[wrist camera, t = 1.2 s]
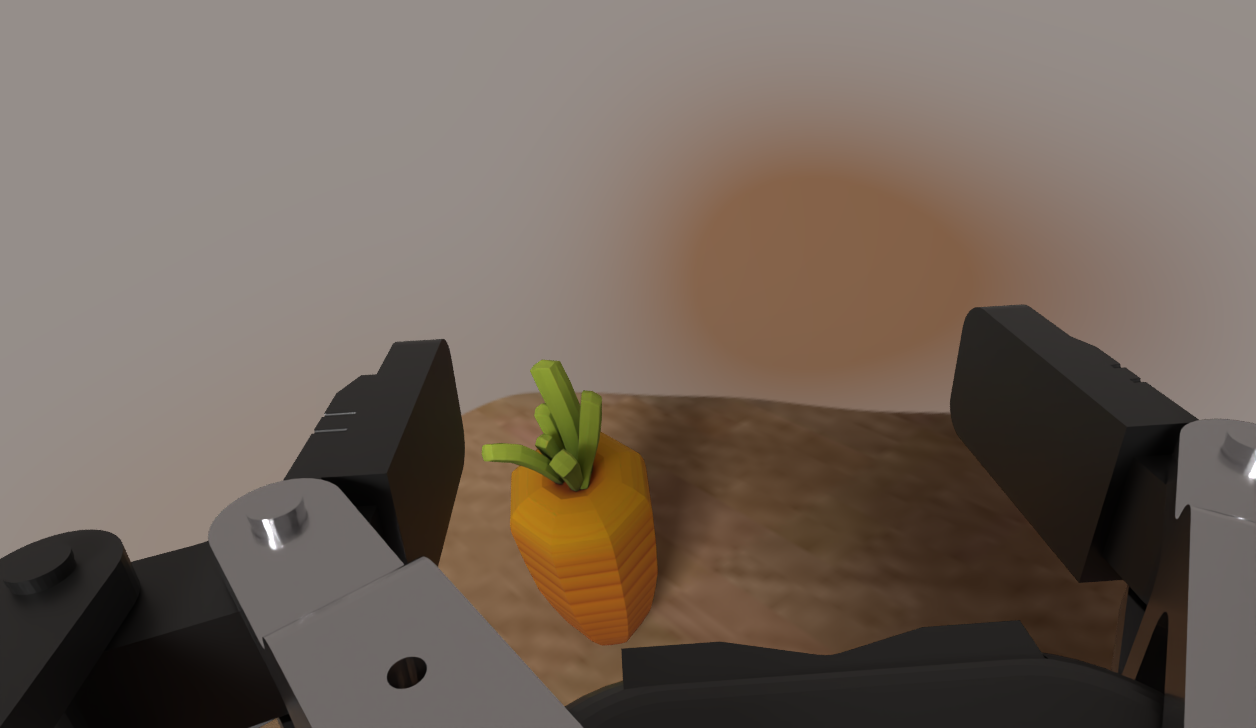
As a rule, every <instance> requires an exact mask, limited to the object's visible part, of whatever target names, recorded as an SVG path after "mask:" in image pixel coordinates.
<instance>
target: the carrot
mask: <svg viewBox="0 0 1256 728" xmlns="http://www.w3.org/2000/svg"><path fill="white" fill-rule="evenodd" d="M530 372H531V374H532V376H533V378H534V380H535V382H536V384H537V387H538V389H539V391H540V393H541V395H542V397H543V399H544V401H545V403H544V404H541V405H539V406H538V407H537V408H536V409H535V415H534V416H535V418H536V420H537V422H538V424H539V426H540V428H541V430H542V431H543V433H544V434H542V435H540V436H539V437H538V438H537V440H536V444H535V446H536V447H537V448H538V449H537V450H536V451H534V450H532V449H530V448H527V447H525V446H523V445H518V444H505V443H497V444H487V445H484V446H482V456H483V459H484V461H491V462H507V463H514V464H517V465H520V466H519V467H517V468H516V469H515V470H514V471H513V472H512V477H511V515H510V527H511V532H512V535H513V537H514V539H515V541H516V544H517V546H518V548H519V550H520V553H521V555H522V557H523V559H524V561H525V564H526V566H527V567H528V569H529V571H530V573H531V575H532V577H533V579H534V581H535V583H536V585H537V587H538V589H539V590H540V592H541V593H542V594H543V595H544V596H545V598H546V599H547V600H548V601H549V603H550V604H551V605H552V606H553V607H554V608H555V609H556V610H557V612H558V613H559V614H560V615H561V616H562V617H563V618H564V619H565V620H566V621H567V622H568V623H570V624H571V625H572V626H574V627H575V628H576V629H577V630H579V631H580V632H581V633H583V634H584V635H585V636H586V637H588V638H589V639H590V640H592V641H593V642H595V643H597V644H600V645H613V644H620V643H625V642H627V641H628V639H629V638H630V637H631V636H632V634H633V633H634V632H635V631H636V630H637V628H638V627H639V626H640V625H641V623H642V622H643V620H644V619H645V617H646V616H647V614H648V613H649V611H650V609H651V605H652V601H653V597H654V593H655V587H656V581H657V574H658V568H657V551H656V539H655V530H654V521H653V513H652V506H651V499H650V492H649V485H648V478H647V471H646V465H645V462H644V459H643V458H642V457H641V455H640V454H639V453H637V452H635V451H634V450H632V449H630V448H628V447H627V446H625V445H623V444H621V443H620V442H618V441H616V440H614V439H613V438H611V437H609V436H607V435H606V434H604V433H602V432H600V430H601V421H602V398H601V396H600V395H598V394H596V393H595V392H593V391H585V390H584V391H583V392H582V396H581V406H580V404H579V402H578V399H577V397H576V394H575V392H574V389H573V387H572V384H571V382H570V380H569V378H568V376H567V374H566V372H565V370H564V368H563V366H562V364H561V362H560V361H552V360H541V361H539V362H538V363H537V364H535V365H534V366H533V367H532V369H531V370H530Z"/></svg>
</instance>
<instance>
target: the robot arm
mask: <svg viewBox="0 0 1256 728" xmlns="http://www.w3.org/2000/svg"><path fill="white" fill-rule="evenodd" d="M950 412H951V418H952V422H953V426H954V429H955V431H956V433H957V435H958V436H959V438H960V439H961V440H962V441H963V443H964V444H965V445H966V446H967V447H968V449H969V450H970V451H971V452H972V453H973V455H974V456H975V457H976V458H977V460H978V461H979V462H980V463H981V464H982V466H983V467H984V468H985V469H986V470H987V472H988V473H989V474H990V475H991V477H992V478H993V479H994V480H995V481H996V483H997V484H998V485H999V486H1000V487H1001V489H1002V490H1003V491H1004V492H1005V494H1006V495H1007V496H1008V497H1009V498H1010V500H1011V501H1012V502H1013V503H1014V504H1015V506H1016V507H1017V508H1018V509H1019V511H1020V512H1021V513H1022V514H1023V515H1024V517H1025V518H1026V519H1027V520H1028V521H1029V523H1030V524H1031V525H1032V526H1033V528H1034V529H1035V530H1036V531H1037V532H1038V534H1039V535H1040V536H1041V537H1042V538H1043V540H1044V541H1045V542H1046V543H1047V545H1048V546H1049V547H1050V548H1051V549H1052V551H1053V552H1054V553H1055V554H1056V555H1057V557H1058V558H1059V559H1060V560H1061V562H1062V563H1063V564H1064V565H1065V566H1066V568H1067V569H1068V570H1069V571H1070V572H1071V574H1072V575H1073V576H1074V577H1075V579H1076V580H1077V581H1078V582H1079V583H1083V582H1098V581H1112V580H1124V581H1125V582H1126V583H1127V584H1128V585H1127V588H1126V590H1125V593H1124V596H1123V599H1122V602H1121V605H1120V609H1119V616H1118V623H1117V631H1116V638H1115V645H1114V653H1113V660H1112V667H1111V670H1108V669H1106V668H1103V667H1099V666H1096V665H1093V664H1090V663H1086V662H1083V661H1080V660H1076V659H1072V658H1067V657H1063V656H1058V655H1054V654H1048V653H1041V651H1040V650H1039V648H1038V647H1037V645H1036V644H1035V642H1034V641H1033V639H1032V638H1031V636H1030V635H1029V633H1028V632H1027V631H1026V629H1025V628H1024V626H1023V625H1022V623H1021V622H1020V620H1017V621H1003V622H989V623H975V624H961V625H947V626H933V627H922V628H919V629H916V630H912V631H909V632H906V633H903V634H900V635H896V636H893V637H890V638H887V639H884V640H880V641H877V642H874V643H871V644H868V645H865V646H861V647H858V648H855V649H852V650H849V651H845V652H842V653H839V654H834V655H815V654H808V653H800V652H793V651H785V650H778V649H771V648H763V647H756V646H748V645H741V644H733V643H726V642H709V643H695V644H681V645H667V646H653V647H639V648H625V649H621V650H622V669H623V681H620V682H617V683H614V684H611V685H608V686H605V687H603V688H600V689H598V690H596V691H594V692H591V693H589V694H587V695H584V696H582V697H580V698H579V699H577V700H575V701H573V702H572V703H570V704H568V705H567V706H565V707H564V706H563V705H562V704H561V702H560V701H559V700H558V699H557V698H556V697H555V696H554V695H553V694H552V693H551V691H550V690H549V689H548V688H547V687H546V686H545V685H544V684H543V683H542V682H541V680H540V679H539V678H538V677H537V676H536V675H535V674H534V673H533V672H532V670H531V669H530V668H529V667H528V666H527V665H526V664H525V663H524V662H523V661H522V659H521V658H520V657H519V656H518V655H517V654H516V653H515V652H514V651H513V650H512V648H511V647H510V646H509V645H508V644H507V643H506V642H505V641H504V640H503V639H502V637H501V636H500V635H499V634H498V633H497V632H496V631H495V630H494V629H493V628H492V626H491V625H490V624H489V623H488V622H487V621H486V620H485V619H484V618H483V617H482V615H481V614H480V613H479V612H478V611H477V610H476V609H475V608H474V607H473V605H472V604H471V603H470V602H469V601H468V600H467V599H466V598H465V597H464V596H463V594H462V593H461V592H460V591H459V590H458V589H457V588H456V587H455V586H454V585H453V583H452V582H451V581H450V580H449V579H448V578H447V577H446V576H445V575H444V574H443V572H442V571H441V570H440V569H439V568H438V564H439V560H440V556H441V553H442V549H443V545H444V541H445V537H446V533H447V529H448V525H449V521H450V517H451V513H452V509H453V506H454V502H455V498H456V494H457V490H458V486H459V482H460V478H461V474H462V470H463V466H464V456H465V441H464V430H463V423H462V417H461V412H460V407H459V400H458V394H457V388H456V383H455V377H454V371H453V365H452V359H451V354H450V350H449V346H448V344H447V342H446V340H445V339H436V340H422V341H421V340H420V341H404V342H395V343H394V344H393V345H392V347H391V349H390V351H389V352H388V355H387V356H386V358H385V360H384V362H383V364H382V365H381V367H380V369H379V371H378V373H377V374H376V375H361V376H360V377H358V378H357V379H355V380H354V381H353V382H351V383H350V384H349V385H347V386H346V387H345V388H343V389H342V390H340V391H339V392H338V393H336V395H335V397H334V398H333V400H332V402H331V403H330V405H329V407H328V408H327V410H326V411H325V413H324V414H325V417H322V418H321V420H320V421H319V423H318V424H317V426H316V428H315V429H314V430H315V434H311V436H310V438H309V439H308V441H307V442H306V444H305V446H304V448H303V449H302V451H301V452H300V454H299V456H298V457H297V459H296V461H295V462H294V464H293V465H292V467H291V469H290V470H289V472H288V473H287V475H286V477H285V478H284V480H283V481H280V482H276V483H273V484H269V485H266V486H263V487H260V488H258V489H256V490H254V491H251V492H249V493H248V494H246V495H244V496H242V497H240V498H238V499H237V500H235V501H234V502H232V503H231V504H230V505H228V506H227V507H226V508H225V509H224V510H223V511H221V513H220V514H219V515H218V516H217V517H216V518H215V520H214V521H213V523H212V524H211V526H210V529H209V533H208V540H209V541H207V542H204V543H201V544H197V545H194V546H190V547H186V548H183V549H179V550H175V551H171V552H167V553H164V554H160V555H156V556H152V557H148V558H145V559H141V560H137V561H133V562H130V559H129V557H128V555H127V553H126V550H125V548H124V546H123V544H122V542H121V540H120V539H119V538H118V537H117V536H116V535H114V534H112V533H110V532H106V531H101V530H79V531H72V532H66V533H63V534H58V535H54V536H51V537H48V538H45V539H42V540H39V541H37V542H34V543H31V544H29V545H26V546H24V547H22V548H20V549H18V550H16V551H14V552H12V553H10V554H8V555H7V556H5V557H3V558H1V559H0V728H249V727H252V726H255V725H258V724H261V723H264V722H267V721H270V720H273V719H275V718H277V720H278V723H279V725H280V727H281V728H1256V424H1254V423H1250V422H1244V421H1238V420H1229V419H1204V420H1199V419H1197V418H1196V417H1194V416H1193V415H1191V414H1190V413H1189V412H1187V411H1186V410H1184V409H1183V408H1182V407H1180V406H1179V405H1177V404H1176V403H1175V402H1173V401H1172V400H1170V399H1169V398H1168V397H1166V396H1165V395H1163V394H1162V393H1160V392H1159V391H1157V390H1156V389H1155V388H1153V387H1152V386H1151V385H1149V384H1148V383H1146V382H1141V381H1140V378H1139V377H1138V376H1137V375H1135V374H1134V373H1132V372H1131V371H1129V370H1128V369H1127V368H1121V367H1120V364H1119V363H1118V362H1117V361H1115V360H1114V359H1113V358H1111V357H1110V356H1108V355H1107V354H1106V353H1104V352H1103V351H1101V350H1100V349H1099V348H1097V347H1095V346H1093V345H1090V344H1088V343H1085V342H1083V341H1081V340H1078V339H1075V338H1073V337H1071V336H1069V335H1068V334H1066V333H1065V332H1064V331H1062V330H1061V329H1059V328H1058V327H1056V325H1054V324H1053V323H1051V322H1050V321H1049V320H1047V319H1046V318H1044V317H1043V316H1042V315H1040V314H1039V313H1038V312H1036V311H1035V310H1033V309H1032V308H1031V307H1029V306H1027V305H1009V306H992V307H976V308H973V309H972V310H970V311H969V313H968V314H967V316H966V318H965V321H964V325H963V330H962V335H961V341H960V347H959V353H958V358H957V364H956V369H955V375H954V381H953V387H952V392H951V399H950Z"/></svg>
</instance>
